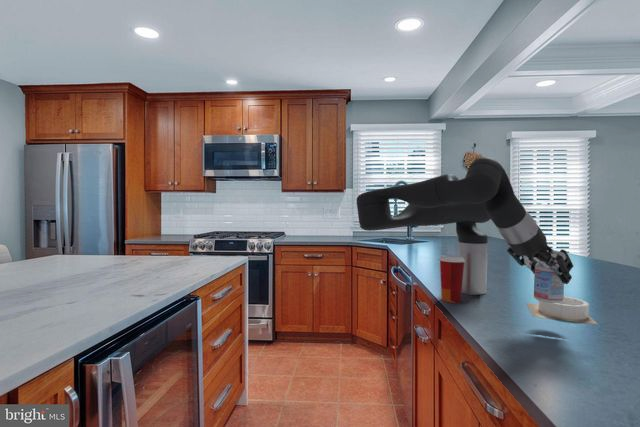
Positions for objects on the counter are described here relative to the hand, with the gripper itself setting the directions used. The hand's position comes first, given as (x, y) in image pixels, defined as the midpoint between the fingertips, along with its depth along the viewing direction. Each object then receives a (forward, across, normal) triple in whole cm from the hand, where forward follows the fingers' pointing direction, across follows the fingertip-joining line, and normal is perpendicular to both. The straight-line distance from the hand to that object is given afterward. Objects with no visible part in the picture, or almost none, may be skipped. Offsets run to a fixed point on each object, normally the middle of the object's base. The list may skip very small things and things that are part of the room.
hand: (553, 278), depth 85 cm
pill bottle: (+3, 0, -5) cm, 6 cm away
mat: (+17, -7, 0) cm, 19 cm away
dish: (+17, -6, 0) cm, 18 cm away
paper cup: (+4, -28, -14) cm, 31 cm away
